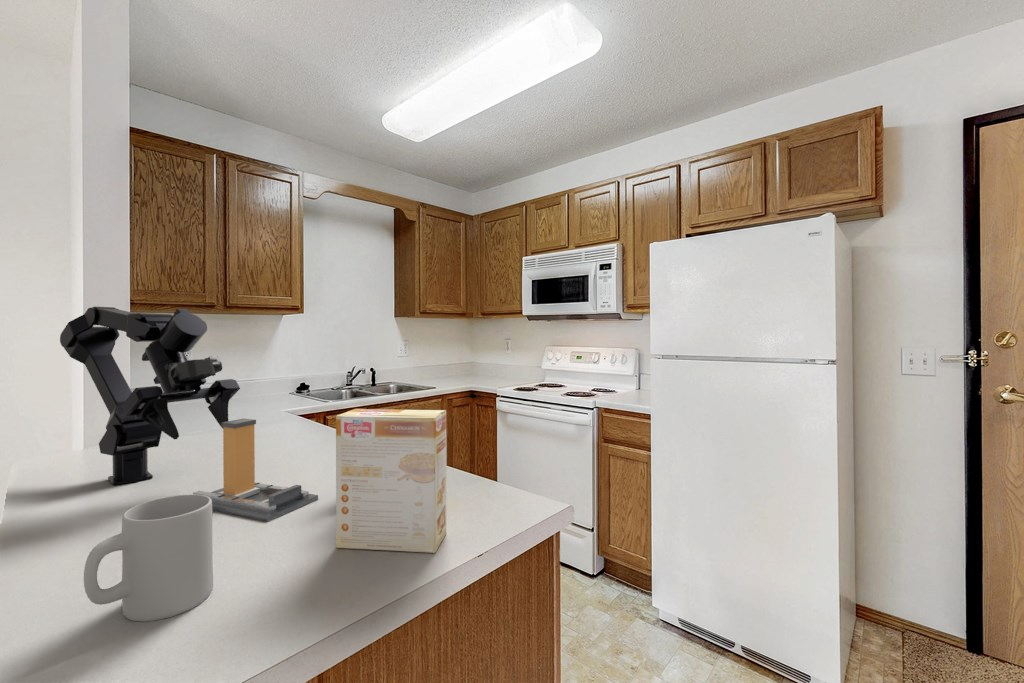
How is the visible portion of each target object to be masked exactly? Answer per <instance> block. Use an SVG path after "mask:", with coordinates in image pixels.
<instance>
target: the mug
mask: <svg viewBox="0 0 1024 683" xmlns="http://www.w3.org/2000/svg"><path fill="white" fill-rule="evenodd" d="M121 520H122V521H121V533H118V534H116V535H113V536H110V537H109V538H106V539H104V540H102V541H100V542H99V543H97V544H96V545H95V546H94V547H93V548H92V549H91V551H89V554H88V556H87V558H86V560H85V564H84V570H83V588H84V592H85V594H86V597H87V599H89V600H90V602H91V603H93V604H95V605H100V606H101V605H107V604H111V603H115V602H118V601H120V600H121V604H122V605H121V608H122V614H123V616H124V617H125V618H126V619H127V620H130V621H134V622H153V621H159V620H164V619H167V618H171V617H174V616H177V615H180V614H183V613H186V612H188V611H189V610H191V609H194V608H196V607H197V606H199V605H200V604H202V603H203V602H204V601H205V600H207V599H208V597H209V596H210V595H211V594H212V591H213V588H214V567H213V565H214V562H213V561H214V560H213V554H214V552H213V548H214V547H213V545H214V544H213V510H212V500H211V498H209V497H207V496H204V495H193V494H177V495H173V496H172V495H171V496H165V497H159V498H156V499H152V500H148V501H146V502H143V503H139V504H137V505H135V506H133V507H130V508H129V509H127V510H126V511H125V512H124V513H123V515H122V518H121ZM118 551H119V552H121V551H122V553H121V555H122V557H121V558H122V563H121V566H122V567H121V581H120V582H118V583H117V584H115V585H113V586H111V587H109V588H101V587H100V585H99V582H98V581H99V580H98V571H99V566H100V564H101V562H102V560H103V559H104V558H105V556H107V555H109V554H110V553H111V554H112V553H113V552H118Z"/></svg>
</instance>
